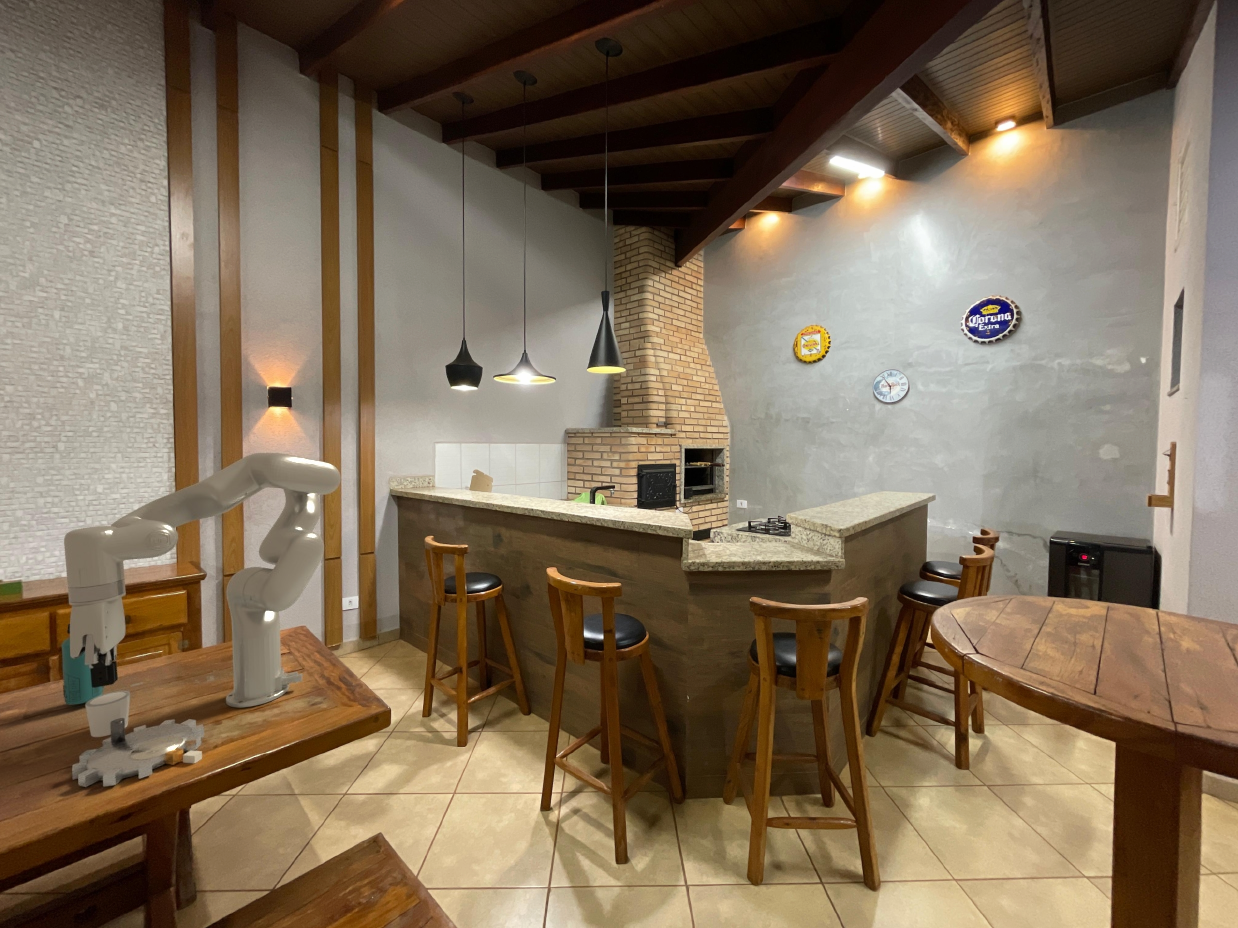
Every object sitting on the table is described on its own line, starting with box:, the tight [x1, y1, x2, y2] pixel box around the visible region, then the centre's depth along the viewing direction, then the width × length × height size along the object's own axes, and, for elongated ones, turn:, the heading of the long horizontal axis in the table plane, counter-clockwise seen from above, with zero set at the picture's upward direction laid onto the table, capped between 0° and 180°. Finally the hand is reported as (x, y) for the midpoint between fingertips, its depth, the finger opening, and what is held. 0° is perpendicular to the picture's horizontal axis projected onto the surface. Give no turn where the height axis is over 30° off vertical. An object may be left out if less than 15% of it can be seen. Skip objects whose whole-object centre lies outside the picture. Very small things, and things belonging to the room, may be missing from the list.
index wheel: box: [71, 718, 205, 788], centre depth 98 cm, size 19×19×6 cm
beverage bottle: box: [61, 623, 105, 706], centre depth 118 cm, size 6×7×20 cm
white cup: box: [84, 690, 131, 738], centre depth 108 cm, size 7×7×7 cm
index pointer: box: [182, 750, 203, 764], centre depth 97 cm, size 2×2×2 cm, turn 84°
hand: (105, 683), depth 96 cm, fingers closed
